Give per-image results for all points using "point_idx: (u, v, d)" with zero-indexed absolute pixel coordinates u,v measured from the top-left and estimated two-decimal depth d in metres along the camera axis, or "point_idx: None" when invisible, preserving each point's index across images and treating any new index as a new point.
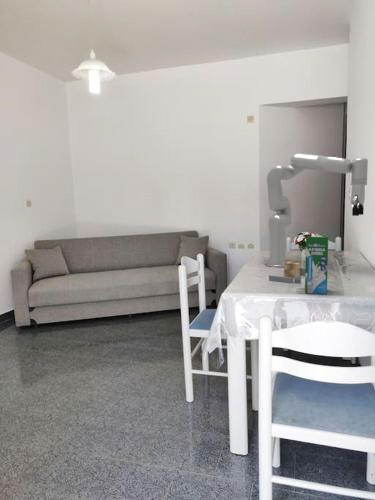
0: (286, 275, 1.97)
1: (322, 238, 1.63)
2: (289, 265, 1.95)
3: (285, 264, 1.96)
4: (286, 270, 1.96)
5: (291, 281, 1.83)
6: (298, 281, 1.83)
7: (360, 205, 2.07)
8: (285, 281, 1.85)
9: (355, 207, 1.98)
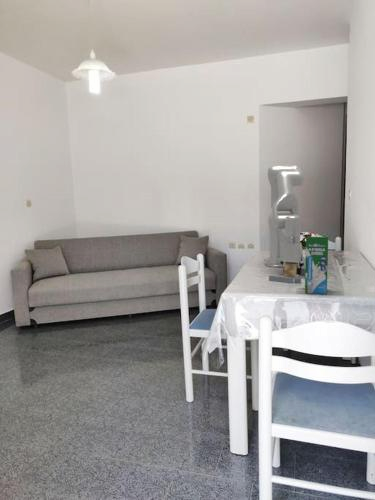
0: (286, 275, 1.97)
1: (322, 238, 1.63)
2: (289, 265, 1.95)
3: (285, 264, 1.96)
4: (286, 270, 1.96)
5: (291, 281, 1.83)
6: (298, 281, 1.83)
7: None
8: (285, 281, 1.85)
9: (300, 267, 1.95)
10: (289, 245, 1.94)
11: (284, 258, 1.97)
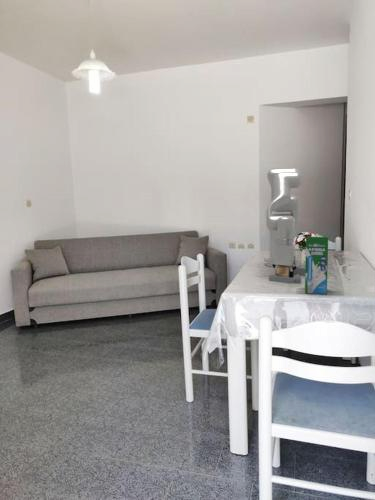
0: None
1: (322, 238, 1.63)
2: (281, 268, 1.87)
3: (277, 267, 1.89)
4: (279, 274, 1.89)
5: (291, 281, 1.83)
6: (298, 281, 1.83)
7: None
8: (285, 281, 1.85)
9: (293, 271, 1.87)
10: (281, 247, 1.86)
11: (276, 261, 1.89)
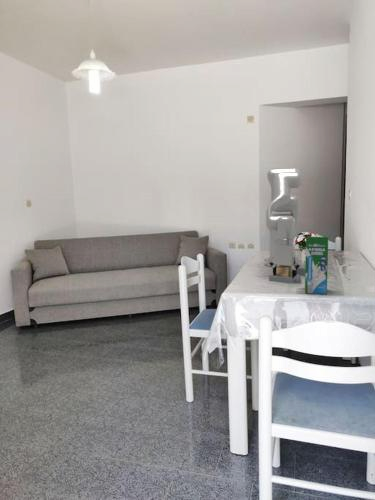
0: None
1: (322, 238, 1.63)
2: (281, 268, 1.87)
3: (277, 267, 1.89)
4: (279, 274, 1.89)
5: (291, 281, 1.83)
6: (298, 281, 1.83)
7: None
8: (285, 281, 1.85)
9: (296, 269, 1.86)
10: (281, 247, 1.86)
11: (276, 261, 1.89)
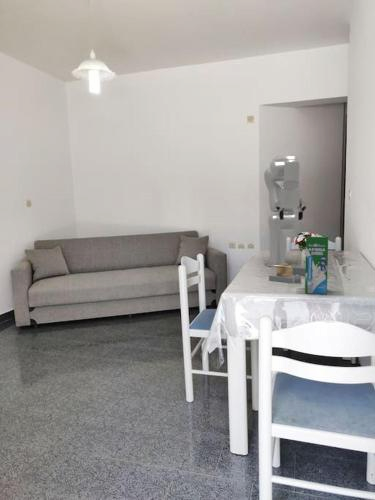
0: None
1: (322, 238, 1.63)
2: (281, 268, 1.87)
3: (277, 267, 1.89)
4: (279, 274, 1.89)
5: (291, 281, 1.83)
6: (298, 281, 1.83)
7: None
8: (285, 281, 1.85)
9: None
10: (288, 190, 1.91)
11: (283, 204, 1.93)
